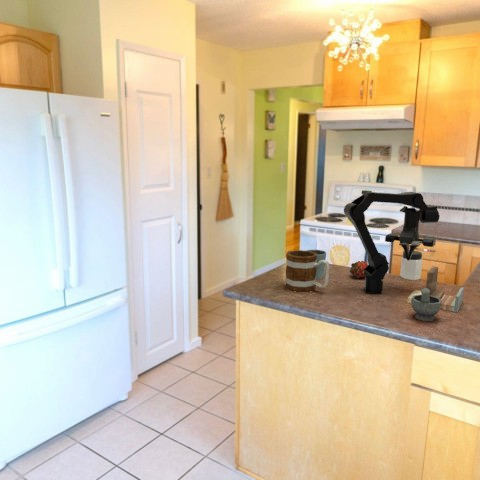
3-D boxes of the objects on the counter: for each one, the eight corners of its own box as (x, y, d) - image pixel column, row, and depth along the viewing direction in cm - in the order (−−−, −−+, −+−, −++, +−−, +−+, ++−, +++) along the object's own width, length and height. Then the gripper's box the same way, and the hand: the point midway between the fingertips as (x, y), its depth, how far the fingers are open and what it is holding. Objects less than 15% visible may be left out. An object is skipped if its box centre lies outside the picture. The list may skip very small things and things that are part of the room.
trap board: (407, 302, 166) (407, 297, 166) (414, 294, 176) (415, 289, 176) (454, 311, 157) (454, 306, 157) (459, 302, 167) (459, 297, 167)
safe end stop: (454, 311, 157) (455, 296, 156) (459, 302, 167) (461, 287, 166) (457, 312, 156) (458, 296, 155) (462, 302, 167) (464, 287, 166)
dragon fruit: (353, 283, 196) (361, 281, 206) (369, 275, 192) (377, 272, 202) (344, 267, 198) (352, 265, 208) (360, 258, 194) (367, 256, 204)
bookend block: (424, 300, 164) (427, 272, 161) (430, 293, 172) (432, 266, 169) (439, 302, 161) (441, 274, 159) (443, 295, 169) (446, 268, 167)
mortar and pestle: (413, 311, 158) (415, 279, 156) (441, 315, 153) (444, 283, 151) (407, 321, 148) (410, 287, 146) (437, 326, 144) (440, 292, 141)
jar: (412, 281, 194) (414, 255, 192) (396, 277, 201) (398, 251, 198) (424, 278, 199) (426, 252, 197) (408, 274, 206) (410, 249, 203)
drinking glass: (328, 276, 202) (329, 251, 199) (320, 281, 193) (321, 255, 191) (308, 272, 207) (309, 248, 205) (299, 278, 199) (300, 252, 196)
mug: (278, 288, 183) (279, 254, 180) (295, 281, 193) (296, 248, 190) (320, 298, 171) (321, 261, 168) (335, 290, 181) (337, 255, 178)
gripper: (382, 223, 174) (379, 261, 178) (431, 228, 164) (428, 267, 167) (390, 220, 183) (387, 255, 187) (437, 224, 173) (433, 262, 176)
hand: (408, 260), depth 179 cm, fingers closed
